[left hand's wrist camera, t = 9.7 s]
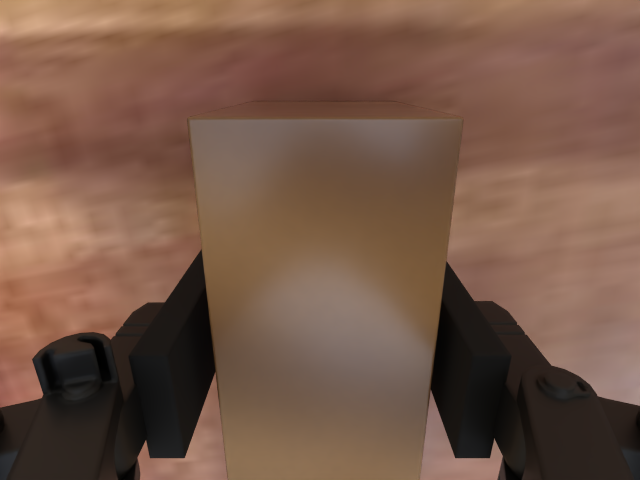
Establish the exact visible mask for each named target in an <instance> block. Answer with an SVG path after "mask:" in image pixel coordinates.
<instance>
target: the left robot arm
mask: <svg viewBox="0 0 640 480" xmlns="http://www.w3.org/2000/svg"><path fill="white" fill-rule="evenodd" d="M32 360H33V363H34V366H35V370H36V373H37V376H38V379H39V382H40V385H41V388H42V391H43V394H44V395H43V397H42V398H41V399H38V400H34V401H29V402H25V403H20V404H15V405H11V406H6V407H2V408H0V480H140V468H139V463H138V458H137V457H138V455H139V453H140V451H141V449H142V447H143V445H144V443H145V441H147V446H148V451H149V455H150V458H185V456H186V453H187V450H188V447H189V444H190V441H191V439H192V436H193V433H194V430H195V427H196V425H197V422H198V419H199V416H200V413H201V411H202V408H203V405H204V402H205V399H206V396H207V394H208V391H209V388H210V385H211V382H212V380H213V377H214V374H215V362H214V353H213V344H212V336H211V327H210V318H209V309H208V300H207V291H206V283H205V274H204V265H203V256H202V249H201V251H200V252H199V254H198V255H197V257H196V258H195V260H194V261H193V263H192V264H191V265H190V267H189V268H188V270H187V271H186V273H185V274H184V276H183V277H182V279H181V280H180V281H179V283H178V284H177V286H176V287H175V289H174V290H173V292H172V293H171V295H170V296H169V297H168V299H167V300H166V302H165V303H146V304H145V305H143V306H142V307H140V308H139V309H137V310H136V311H134V312H133V313H132V314H131V315H130V316H129V318H128V319H127V320H126V321H125V323H124V324H123V326H121V328H120V329H119V330H118V331H117V333H116V336H114V337H113V338H112V339H111V340H110V339H109V338H108V337H107V336H105V335H104V334H100V333H95V332H89V333H78V334H74V335H70V336H66V337H64V338H61V339H59V340H57V341H54V342H52V343H50V344H49V345H47V346H46V347H44V348H43V349H41V350H40V351H39V352H38V353H37V354H36V355H35V357H34V358H33V359H32ZM431 391H432V394H433V397H434V399H435V402H436V405H437V408H438V411H439V413H440V416H441V419H442V422H443V425H444V427H445V430H446V433H447V436H448V439H449V442H450V444H451V447H452V450H453V453H454V456H455V458H490V455H491V451H492V446H493V441H494V438H495V441H496V443H497V445H498V447H499V449H500V451H501V453H502V455H503V458H502V463H501V467H500V471H499V476H498V480H640V406H638V405H633V404H628V403H624V402H619V401H614V400H610V399H605V398H602V397H598V396H597V394H596V393H595V391H594V390H593V388H592V387H591V386H590V384H588V383H587V382H586V381H584V380H583V379H582V378H581V377H579V376H577V375H575V374H573V373H571V372H569V371H567V370H565V369H562V368H558V367H554V366H551V365H550V363H549V362H548V361H547V360H546V358H545V357H544V356H543V355H542V353H541V352H540V351H539V350H538V348H537V347H536V346H535V345H534V343H533V342H532V341H531V340H530V338H529V337H528V336H527V335H525V332H524V331H523V330H522V328H521V327H520V326H519V325H517V322H516V321H515V320H514V318H513V317H512V316H511V315H510V313H509V312H508V311H507V310H505V309H503V308H502V307H500V306H499V305H497V304H496V303H494V302H493V301H474V300H473V299H472V297H471V296H470V295H469V293H468V292H467V290H466V289H465V287H464V286H463V284H462V283H461V281H460V280H459V279H458V277H457V276H456V274H455V273H454V271H453V270H452V268H451V267H450V265H449V264H448V263H447V261H446V267H445V275H444V283H443V292H442V300H441V308H440V316H439V324H438V333H437V341H436V349H435V357H434V365H433V374H432V382H431Z"/></svg>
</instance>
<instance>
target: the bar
mask: <svg viewBox="0 0 640 480" xmlns="http://www.w3.org/2000/svg"><path fill="white" fill-rule="evenodd" d="M187 124H188V132H189V141H190V150H191V159H192V168H193V177H194V185H195V194H196V203H197V212H198V221H199V230H200V238H201V247H202V256H203V265H204V274H205V283H206V291H207V300H208V309H209V318H210V327H211V336H212V344H213V353H214V362H215V371H216V380H217V389H218V397H219V406H220V415H221V424H222V433H223V442H224V450H225V459H226V468H227V477H228V480H420V472H421V464H422V456H423V447H424V439H425V431H426V423H427V415H428V406H429V398H430V390H431V382H432V374H433V365H434V357H435V349H436V341H437V333H438V324H439V316H440V308H441V300H442V292H443V283H444V275H445V267H446V259H447V251H448V242H449V234H450V226H451V218H452V210H453V201H454V193H455V185H456V177H457V169H458V160H459V152H460V144H461V136H462V128H463V118H462V117H459V116H455V115H451V114H447V113H442V112H438V111H434V110H430V109H425V108H421V107H417V106H412V105H408V104H404V103H400V102H395V101H251V102H247V103H243V104H239V105H235V106H231V107H227V108H223V109H219V110H215V111H211V112H207V113H203V114H199V115H195V116H191V117H188V119H187Z"/></svg>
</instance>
